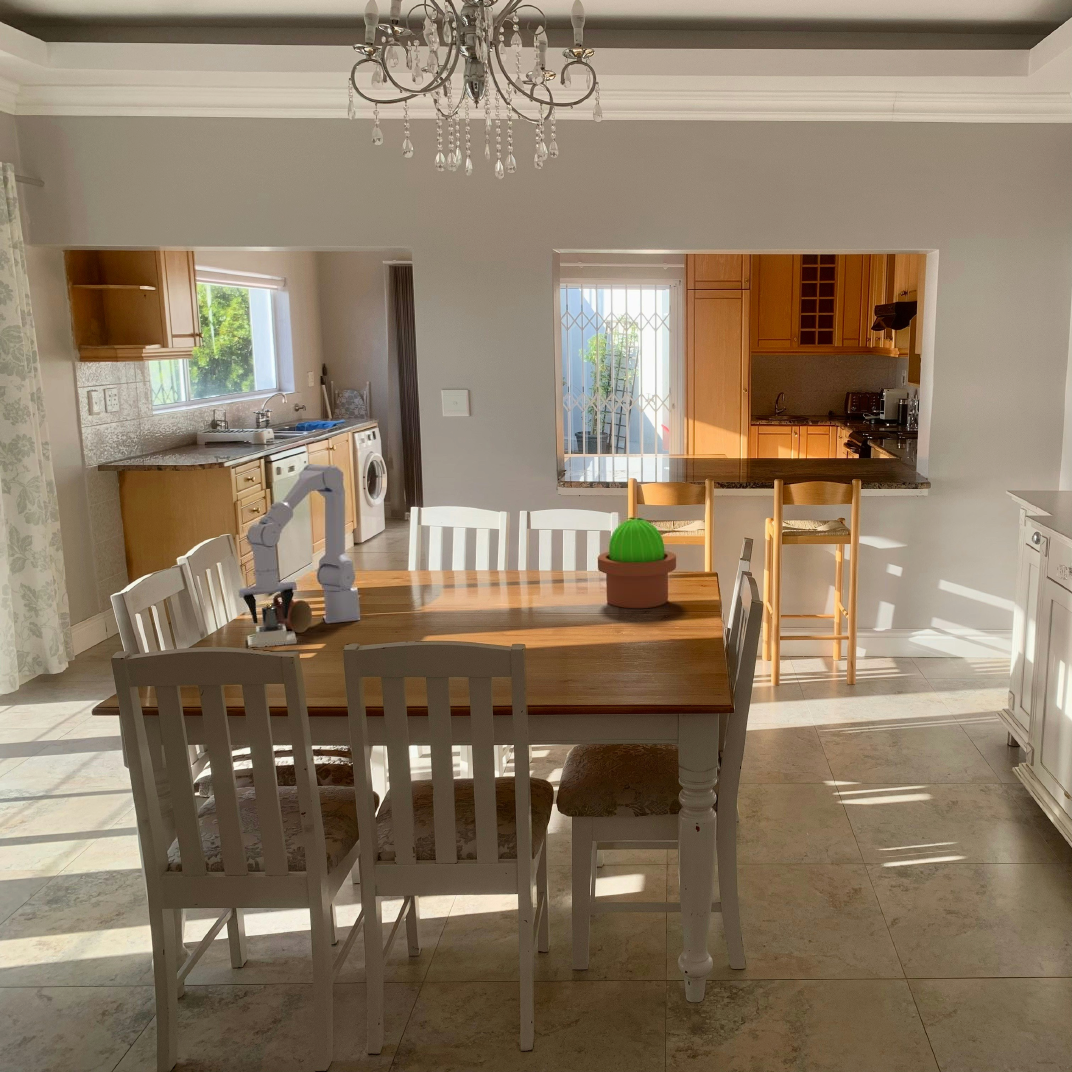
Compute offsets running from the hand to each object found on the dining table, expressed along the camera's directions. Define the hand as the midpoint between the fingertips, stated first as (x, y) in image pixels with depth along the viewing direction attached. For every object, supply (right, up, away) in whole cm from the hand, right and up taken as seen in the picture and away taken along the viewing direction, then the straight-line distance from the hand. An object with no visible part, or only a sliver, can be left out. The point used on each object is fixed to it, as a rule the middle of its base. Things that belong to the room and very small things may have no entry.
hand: (270, 620), depth 260 cm
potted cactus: (+99, +3, +30) cm, 103 cm away
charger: (0, -6, +1) cm, 6 cm away
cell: (0, -5, +1) cm, 5 cm away
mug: (-4, +2, +13) cm, 13 cm away
